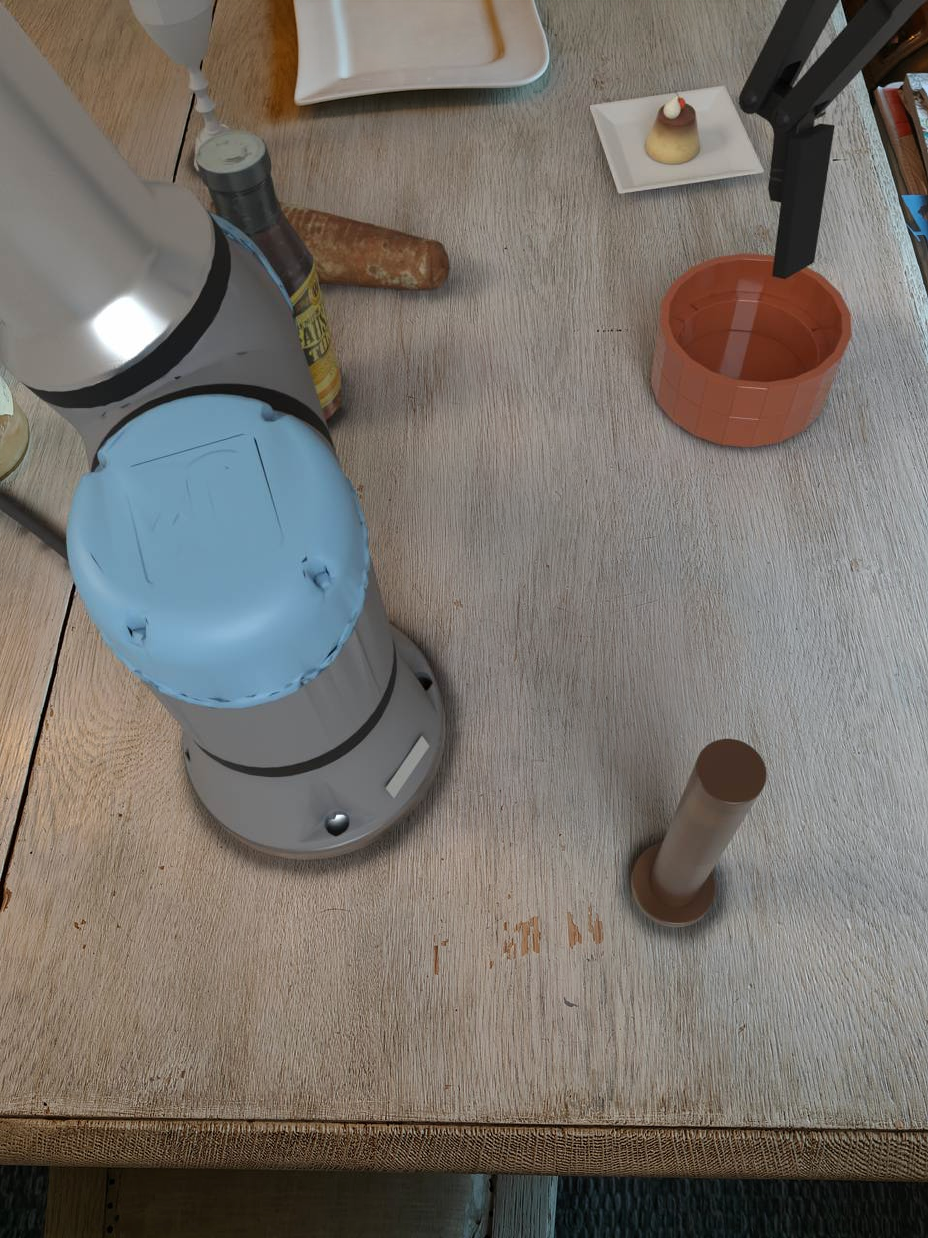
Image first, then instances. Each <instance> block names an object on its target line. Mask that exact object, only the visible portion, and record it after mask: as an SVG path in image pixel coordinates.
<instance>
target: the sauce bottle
mask: <svg viewBox="0 0 928 1238" xmlns="http://www.w3.org/2000/svg"><path fill="white" fill-rule="evenodd" d="M196 163H197V166H198V169H199V171H198V173H199V175H200V178H201V181H202V183H203V184H204V185H205V186H206V187H207V190H208V192H209V196H210V198H211V202H212V201H213V204H214V208H215V211H216V215H217V216H219V217H221V218H223V219H224V220H226V221H228V222H230V223H231V224H232V225H234V226H235V227H237V228H238V229H239V230H241V231H242V232H243V233H244V234H245V235H247V236H248V237H249V238H250V239H251V240H252V241H253V242H254V243H255V244H256V246H257V247H258V248H259V249H260V250H261V252H262V253H263V254H264V256H265V257H266V258H267V260H268V261H269V263H270V265H271V266H272V268H273V269H274V271H275V272H276V274H277V275H278V277H279V278H280V280H281V282H282V283H283V285H284V287H285V289H286V291H287V293H288V296H289V298H290V301H291V303H292V306H293V314H294V316H295V317H296V321H297V325H298V332H299V338H300V341H301V344H302V348H303V351H304V354H305V357H306V360H307V363H308V366H309V370H310V373H311V376H312V379H313V382H314V385H315V388H316V392H317V395H318V398H319V401H320V404H321V407H322V410H323V414H324V417H325V420H326V421H327V420H328V419H330V418H331V417H332V416H333V415H334V414H335V413H336V412H337V411H338V409H339V406H340V405H341V402H342V396H343V395H342V374H341V371H340V367H339V362H338V358H337V354H336V349H335V345H334V340H333V337H332V333H331V327H330V323H329V320H328V316H327V311H326V306H325V303H324V298H323V294H322V290H321V286H320V282H319V281H318V277H317V272H316V267H315V264H314V260H313V256H312V254H311V253H310V252H309V251H308V249H307V248H306V246H305V245H304V243H303V242H302V240H301V239H300V237H299V236H298V234H297V233H296V231H295V230H294V228H293V227H292V225H291V224H290V223H289V221H288V220H287V218H286V217H285V215H284V214H283V212H282V211H281V205H280V203H279V202H280V201H279V199H278V197H277V193H276V190H275V184H274V181H273V178H272V167H273V165H272V160H271V157H270V154H269V150H268V147H267V144H266V142H265V140H264V139H263V138H262V137H260V136H259V135H257V134H255V133H254V132H251V131H247V130H244V129H243V130H237V129H236V130H234V131H228V132H223V133H220V134H218V135H215V136H213V137H211V138H209V139H207V140H206V141H205V142H204V143H203V144H202V145H201V146H200V147H199V149H198V152H197V154H196Z"/></svg>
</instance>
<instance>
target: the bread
mask: <svg viewBox="0 0 928 1238" xmlns="http://www.w3.org/2000/svg"><path fill="white" fill-rule="evenodd" d="M279 203H280V205H281V211H282V212H283V214H284V215H285V217H286V218H287V220H288V221H289V223H290V224H291V225H292V227H293V228H294V230H295V231H296V233H297V234H298V236H299V237H300V239H301V240H302V242H303V243H304V245H305V246H306V248H307V249H308V251H309V252H310V253H311V254H312V256H313V260H314V264H315V267H316V272H317V277H318V281H319V284H320V283H321V284H333V285H343V286H344V285H346V286H356V287H363V288H364V287H366V288H376V289H377V288H378V289H379V288H380V289H381V288H383V289H396V290H403V291H405V290H406V291H410V290H411V291H435V290H436V289H439V288H440V287H441V286H443V285H444V284H445V283H446V282H447V279H448V277H449V272H450V260H449V255H448V253H447V251H446V249H445V246H444V245H443V243H442V242H440V241H438V240H435V239H428V238H424V237H421V236H417V235H413V234H409V233H406V232H402V231H399V230H396V229H393V228H388V227H384V226H380V225H376V224H373V223H370V222H364V221H360V220H357V219H352V218H347V217H344V216H341V215H337V214H333V213H329V212H326V211H325V212H324V211H321V210H316V209H311V208H309V207H308V208H307V207H304V206H300V205H296V204H292V203H287V202H283V201H279ZM209 212H211V213H213V214H215V215H216V211H215V208H214V204H213V201H212V200H211V203H210V211H209Z"/></svg>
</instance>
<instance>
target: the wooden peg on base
mask: <svg viewBox="0 0 928 1238" xmlns="http://www.w3.org/2000/svg"><path fill="white" fill-rule="evenodd" d="M696 758H697V759H696V761H695V764H694V766H693V768H692V771H691V773H690V775H689V778H688V780H687V783H686V785H685V787H684V790H683V793H682V795H681V797H680V800H679V801H678V805H677V807H676V810H675V812H674V815H673V817H672V819H671V822H670V824H669V826H668V829H667V831H666V834H665V836H664V839H663V841H662V842H660V843H657V844H654V845H652V846H650V847H648V848H647V849H646V850H644V851H643V852H642V854H640V855H639V857H638V858H637V860H636V862H635V863H634V866H633V869H632V872H631V876H630V889H631V893H632V896H633V899H634V902H635V904H636V905H637V907H638V908H639V910H640V911H641V912H642V914H644V915H645V916H646V917H647V918H648V919H650V920H651V921H652V922H655V923H656V924H658V925H661V926H664V927H667V928H685V927H689V926H691V925H693V924H695V923H697V922H698V921H700V920H701V919H702V918H704V916H705V915H706V914H707V913H708V911H709V910H710V908H711V906H712V904H713V903H714V899H715V895H716V891H717V890H716V889H717V888H716V879H715V874H714V872H713V870H714V868H715V867H716V865H717V863H718V861H719V860H720V858H722V857H721V856H723V853H724V852H725V850H726V849H727V847H728V846H729V844H730V842H731V841H732V839H733V838H734V837H735V835H736V833H737V831H738V830H739V828H740V827H741V825H742V823H743V822H744V820H745V819H746V817H747V815H748V814H749V812H750V811H751V809H752V807H753V806H754V805H755V803H756V801H757V800H758V798H759V796H760V795H761V793H762V791H763V790H764V787H765V786H766V782H767V767H766V765H765V762H764V760H763V758H762V757H761V754H759V752H758V751H757V750H756V749H755V748H754V747H752V746H751V745H749V744H748V743H746V742H744V741H742V740H738V739H734V738H720V739H717V740H714V741H711V742H710V743H708V744H706V746H704V748H702V750H701V751H700V752H699V754H698V756H697V757H696Z"/></svg>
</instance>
